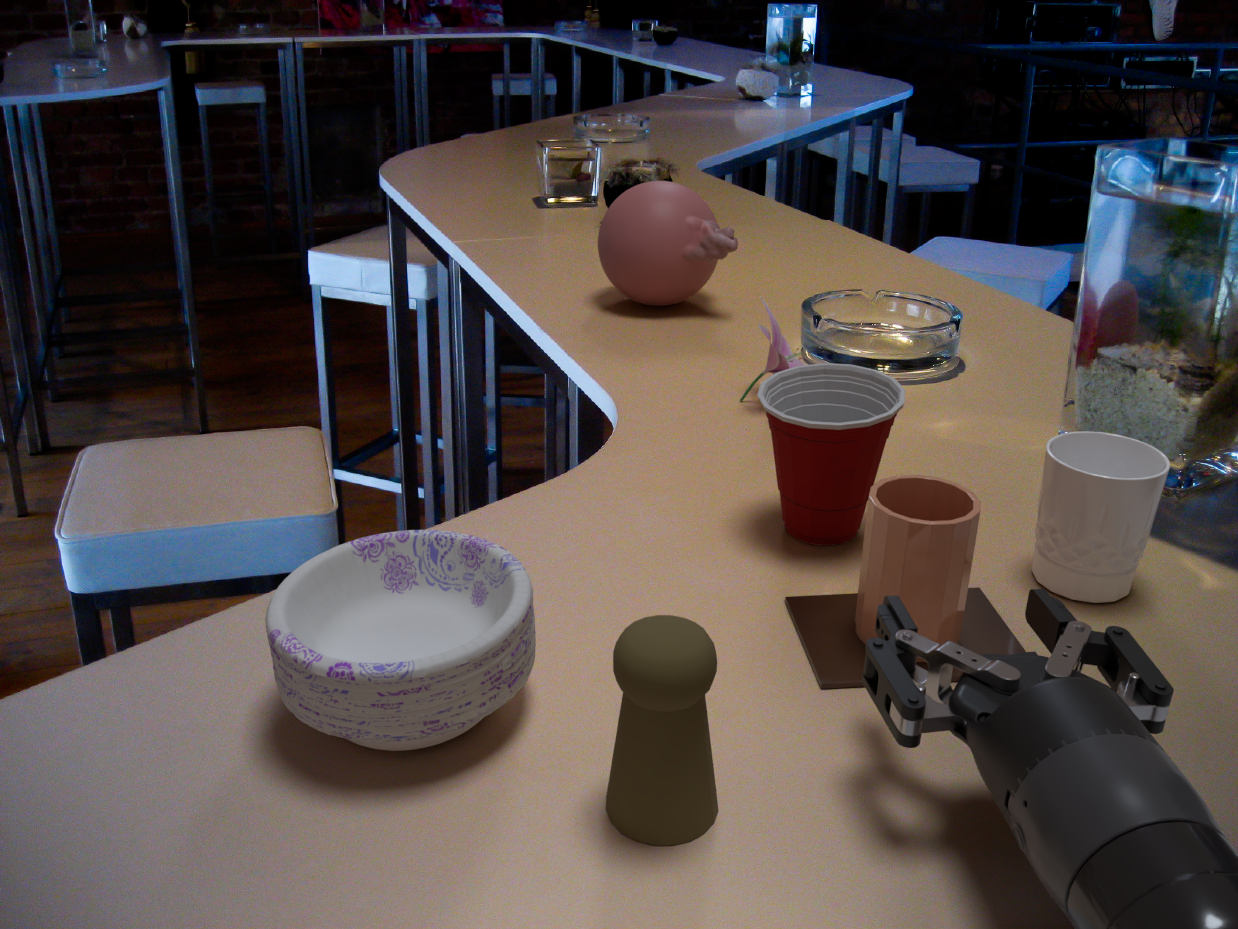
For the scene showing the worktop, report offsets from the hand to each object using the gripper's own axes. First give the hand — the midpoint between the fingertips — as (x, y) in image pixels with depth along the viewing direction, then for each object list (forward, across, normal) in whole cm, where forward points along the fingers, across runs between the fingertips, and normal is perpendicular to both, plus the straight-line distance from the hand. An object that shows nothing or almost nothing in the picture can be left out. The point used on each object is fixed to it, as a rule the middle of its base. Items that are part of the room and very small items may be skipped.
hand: (960, 605), depth 62 cm
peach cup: (+7, 0, +7) cm, 10 cm away
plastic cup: (+22, +2, +7) cm, 24 cm away
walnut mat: (+7, 0, +7) cm, 10 cm away
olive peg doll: (-7, +18, +7) cm, 21 cm away
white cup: (+13, -15, +7) cm, 21 cm away
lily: (+48, -1, +7) cm, 49 cm away
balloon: (+81, +6, +7) cm, 82 cm away
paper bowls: (+3, +32, +7) cm, 33 cm away
